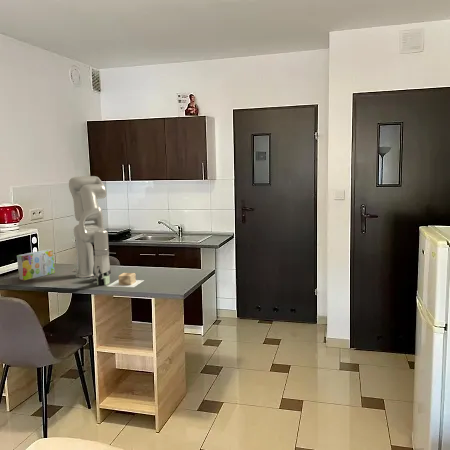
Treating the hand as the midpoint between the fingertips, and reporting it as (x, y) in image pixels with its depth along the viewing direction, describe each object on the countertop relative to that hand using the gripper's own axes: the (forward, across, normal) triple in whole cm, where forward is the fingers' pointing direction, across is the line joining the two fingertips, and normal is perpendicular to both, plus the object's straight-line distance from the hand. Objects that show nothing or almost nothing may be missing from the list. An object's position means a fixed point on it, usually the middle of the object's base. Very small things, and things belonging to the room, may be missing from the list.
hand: (103, 284), depth 255 cm
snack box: (+1, -17, -52) cm, 55 cm away
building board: (+1, -2, +12) cm, 12 cm away
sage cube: (+1, 0, 0) cm, 1 cm away
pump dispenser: (+1, -13, -7) cm, 15 cm away
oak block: (0, -2, +13) cm, 13 cm away
